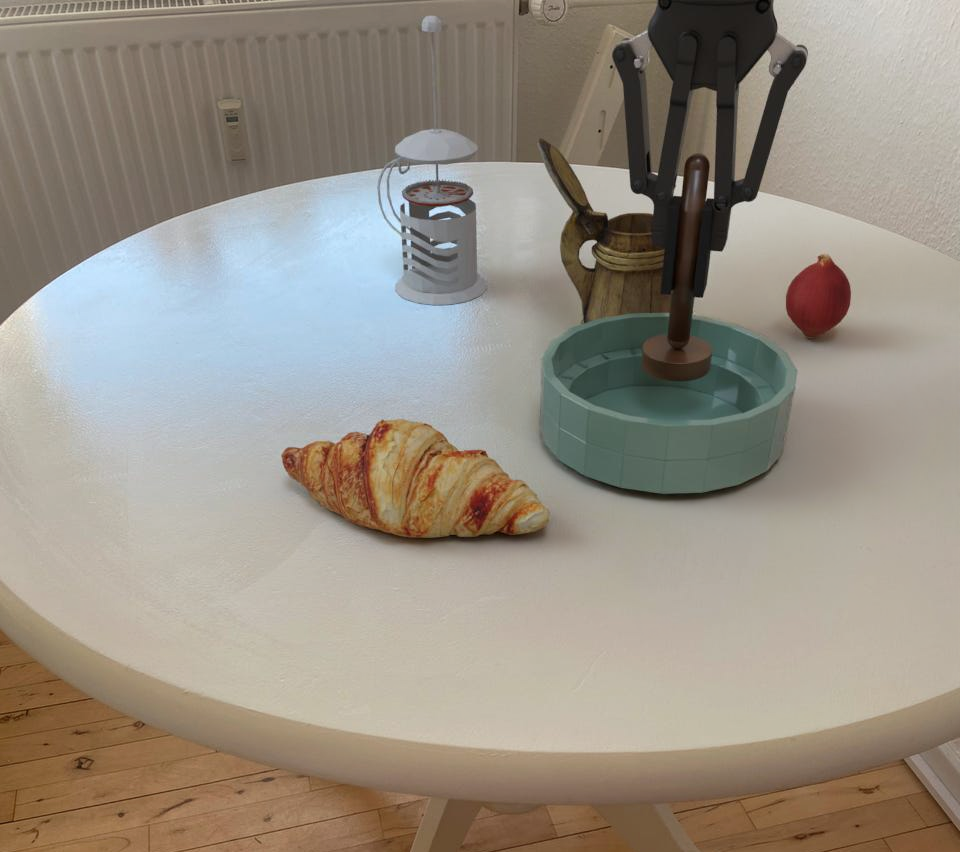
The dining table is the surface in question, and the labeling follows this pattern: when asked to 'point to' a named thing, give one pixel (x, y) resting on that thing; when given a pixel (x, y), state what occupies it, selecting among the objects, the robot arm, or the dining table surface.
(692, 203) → the wooden paper towel stand
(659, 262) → the wooden mug
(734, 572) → the dining table surface
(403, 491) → the croissant
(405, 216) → the french press
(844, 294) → the onion
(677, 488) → the bowl
